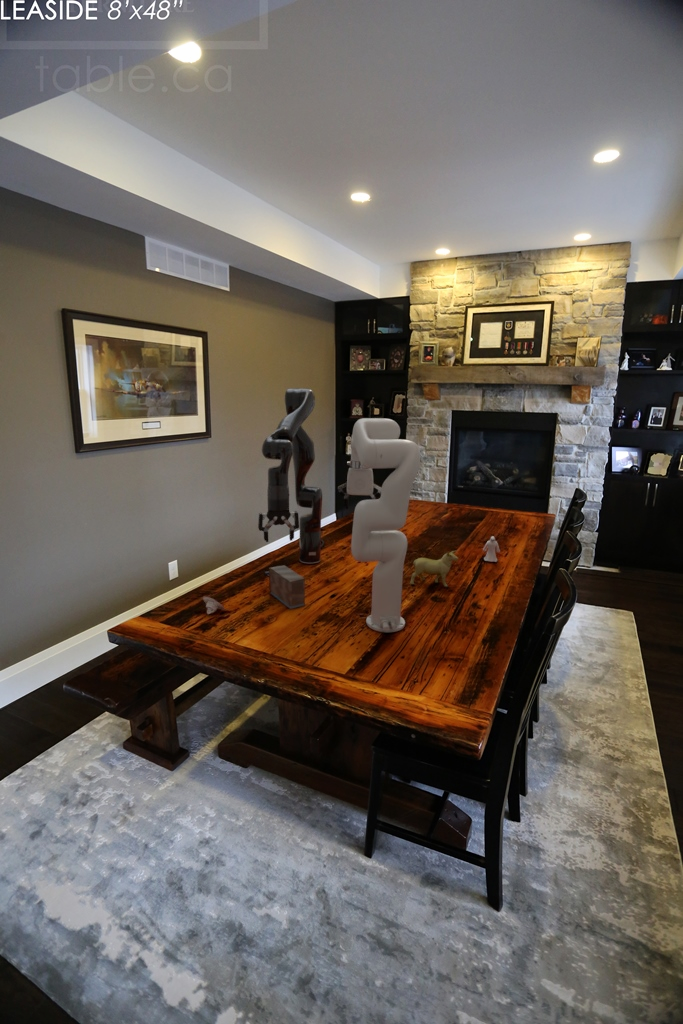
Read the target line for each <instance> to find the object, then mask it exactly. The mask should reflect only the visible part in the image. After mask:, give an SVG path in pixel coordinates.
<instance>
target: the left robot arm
mask: <svg viewBox="0 0 683 1024" xmlns="http://www.w3.org/2000/svg"><path fill="white" fill-rule="evenodd" d="M315 405H316V396H315V393H314V391H313V390H312V389H310V388H288V389H286V390H285V393H284V407H285V412H286V415H285V416H284V417H283V418H282V419H281V420H280V421H279V423H278V425H277V427H276V429H275V430H274V431H273V432H272V433H270V434H269V435H268V436H267V437H266V438H265V440H264V441H263V443H262V445H261V453H262V456H263V457H264V458H265V459H266V460H271V461H272V460H273V461H275V460H276V461H280V463H279V464H278V465H273V466H270V467H269V468H268V469H267V489H266V490H267V493H266V495H267V512H266V513H263V512H259V513H258V520H257V521H258V524H257V528H258V531H260V532H262V533H263V540H264V541H265V543H269V530H270V529H271V528H272V526H273V525H274V526H284V525H286V526H287V527H288V528H289V530H288V531H289V532H288V533H289V541H291V542H292V541H293V539H295V530H299V559H298V560H299V562H300V563H301V564H303V565H315V564H316V565H317V564H319V563H321V561H322V558H321V557H322V556H321V551H322V548H323V546H324V544H325V541H324V540H323V539H322V531H324V529H323V528H322V509H323V508H322V507H323V490H322V488H321V487H318V486H309V485H306V482H305V481H306V477H307V474H308V472H309V471H310V469H311V467H312V466H313V465H314V462H315V459H316V454H315V453H316V452H315V444H314V441H313V438H312V436H310V434H309V433H308V432H307V431H306V429H305V428H304V427H303V424H304V422H306V420H307V419H308V417H309V416H310V414H311V413H312V412H313V410H314V408H315ZM291 461H292V463H293V471H294V494H295V496H294V497H295V502H296V505H297V506H298V507H299V508H304V509H311V512H309V513H306V514H302V515H300V517H299V512H298V511H297V510H294V511H290V487H289V486H290V485H289V469H290V464H291ZM291 517H292V518H293V519H294V520H293V522H294V524H293V525H292V524H291V522H290V521H289V519H290V518H291ZM266 518H267V519H268V520H267V522H266V524H265V525H264V523H263V522H264V520H265V519H266ZM263 525H264V526H263Z"/></svg>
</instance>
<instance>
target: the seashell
mask: <svg viewBox="0 0 683 1024" xmlns="http://www.w3.org/2000/svg"><path fill="white" fill-rule="evenodd" d="M202 600H203V602H204V603H205V608H206V614H207V615H211V614H213V613H215V612H216V611H217V610H222V611H225V610H226V608H225V606H224V605H223V604H221V602H219V601H218V600H216V599H214V598H212V597H209V596H203V597H202Z"/></svg>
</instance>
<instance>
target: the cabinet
mask: <svg viewBox="0 0 683 1024" xmlns="http://www.w3.org/2000/svg"><path fill="white" fill-rule="evenodd" d="M277 566H278V567H276V566H272V567H273V568H271V567H269V568H270V572H271V590H270V595H272V596H273V597H274V598H276V599H277V600H278V601H279V602H281V603H282V604H283V605H284V606H285V607H287V608H289V609H290V610H292V609H295V608H299V607H300V608H301V607H305V605H306V578H305V577H303V576H302V575H300V574H299V573H297V572H296V571H294V570H292V569H291V568H290V567H288V566H286V565H285V564H284V565H277Z"/></svg>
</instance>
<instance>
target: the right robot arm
mask: <svg viewBox="0 0 683 1024" xmlns="http://www.w3.org/2000/svg"><path fill="white" fill-rule="evenodd" d="M400 435H401V427H400V425H399V424H398V423H397V422H396V421H395V420H393V419H391V418H383V417H379V418H378V417H377V418H376V417H372V418H371V417H364V418H363V417H362V418H359V419H357V421H356V422H355V423H354V425H353V428H352V434H351V439H350V460H349V461H347V462H346V465H347V466H349V468H348V471H347V478H346V480H347V481H346V482H345V483H343V484H341V485H339V486H337V490H338V492H339V494H340V496H342V497H343V499H344V505H343V506H344V507H345V509H346V510H348V509H349V497H350V495H351V496H370V497H371V499H363V500H360V501H358V502H357V504H355V505H356V506H355V507H354V513H353V520H352V532H351V541H350V542H351V543H350V552H351V556H352V558H353V559H354V560H355V561H356V562H360V563H361V562H362V563H364V562H365V563H367V562H368V563H369V562H377V563H376V564H375V566H374V569H373V571H372V585H371V586H372V587H371V607H370V609H371V613H370V615H368V616H367V617H366V621H365V622H366V623H365V624H366V625H367V627H368V628H369V629H372V630H373V631H376V632H379V633H396V632H398V631H402V630H403V629H404V628H405V626H406V620H405V618H403V617H402V615H401V614H402V599H403V598H402V597H403V580H404V578H403V577H404V567H405V559H406V555H407V551H408V538H407V536H406V534H405V533H404V532H402V531H401V530H400V529H402V528H404V527H405V525H406V523H407V517H408V513H409V504H410V499H411V497H410V496H411V492H412V491H411V490H412V488H413V484H414V482H415V480H416V477H417V476H418V472H419V469H420V465H421V451H420V447H419V445H418V444H417V443H416V442H415V441H412V440H409V439H403V438H400ZM373 469H395V470H393V471H392V472H391V473H390V474H389V475H388V476H387V477H386V479H385V480H384V481H383V483H382V485H381V486H380V485H378V484H376V483H375V482H374V472H373ZM344 488H346V492H344V490H343V489H344ZM374 489H376V490H377V492H376V493H374ZM379 496H380V497H379ZM378 497H379V498H378Z"/></svg>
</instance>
